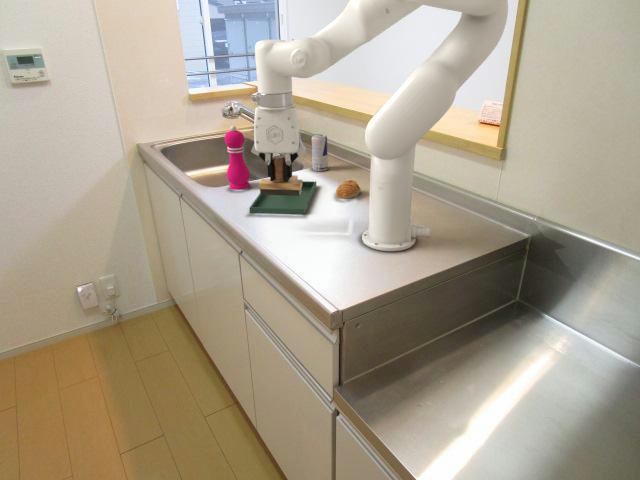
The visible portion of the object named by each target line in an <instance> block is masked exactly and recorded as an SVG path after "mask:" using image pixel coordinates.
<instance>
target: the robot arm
mask: <svg viewBox="0 0 640 480" xmlns="http://www.w3.org/2000/svg"><path fill="white" fill-rule="evenodd" d="M422 6H426V7H432V8H437V9H442V10H446V11H452V12H453V11H454V12H457V13H461V15H460V18H459V20H458V22H457V24H456V26H455V27H454V28H453V29H452V30H451V31H450V33H449V34H448V35H447V36H446V37H445V39H444V40H443V41H442V42H441V43H440V44H439V46H438V47H437V48H436V49H435V50H434V51H433V52H432V53H431V54H430V56H429V57H428V58H427V59H426V60H424V62H422V63H421V64H420V65H419V66H417V67H416V69H414V70H413V71H412V72H411V73H410V75H409V77H408V78H406V79H405V81H404V82H403V84H401V85H400V87H398V89H397V90H396V91H395V92H394V93H393V94H392V96H390V98H389V99H388V100H387V101H386V102H385V103H384V105H382V106H381V107H380V108H379V109H377V110H376V112H375V113H374V114H373V116H372V117H371V118H370V120H369V122H368V123H367V125H366V127H365V132H364V142H365V145H366V148H367V150H368V151H369V152H370V166H369V167H370V169H369V171H370V172H369V199H368V200H369V202H368V203H369V205H368V206H369V207H368V228H366V229H365V230H364V231H363V232H362V235H361V241H362V242H363V244H365V246H367V247H369V248H371V249H373V250H376V251H381V252H400V251H404V250H407V249H410V248H412V246H414V245H415V244H416V240H417V239H416V238H417V237H422V238H423V237H425V238H426V237H427V238H429V237H431V236H430V235H431V229H430V227H429V228H428V227H427V228H425V226H424V224H414V223H412V219H411V212H412V197H413V182H414V170H415V157H416V146H417V144H418V142H419V141H420V140H421V139H422V138H423V137H424V136H425V135H426V134H427V133H428V132H429V131H430V130H431V129H433V127H434V126H435V125H436V124H437V123H439V121H440V120H441V119H442V118H443V117H444V116H445V115H446V114H447V112H448V111H449V110H450V108H451V107H452V106H453V104H454V102H455V99H456V94H457V92H458V91H459V89H461V87H462V86H463V85H464V84H465V83H466V82H467V81H468V80H469V79H470V78H471V77H472V76H473V75H474V74H475V72H476V71H477V70H478V69H479V67H481V66H482V65H483V64H484V63H485V61H486V60H487V59H488V58H489V57H490V56H491V54H492V53H493V51H494V50H495V49H496V47H497V46H498V45H499V43H500V41H501V38H502V36H503V34H504V32H505V28H506V25H507V21H508V15H509V0H349V1H348V3H347V4H346V5H345V7H344V9H343V11H342V12H341V13H340V14H339V15H338V16H337V17H336V18H335V19H334V20H333V21H331V22H330V23H328V25H326V26H325V27H323V28H322V29H321V30H319V31H318V32H316V33H315V34H314V35H312V36H309V37H304V38H298V39H294V40H285V39H262V40H259V41H257V42H256V43H255V45H254V56H255V57H254V58H255V69H256V70H255V71H256V72H255V73H256V85H257V93H256V94H252V96H251V100H252V102H256V103H257V105H258V106H256V107H255V109H254V117H253V118H254V119H253V121H254V123H253V132H254V133H253V137H254V138H253V140H254V143H253V145H252V148H251V149H250V152H251V153H252V154H254V155H255V156H257V157H259V159H261V160H262V161H263V162H264V163H265V165H266V167H267V177H269V179H270V181H274V180H275V179H274V164H273V157H274V154H284V156H285V165H284V177H285V181H286V182H288V181H289V179H290V177H292V176H293V162H295V160H297V158H299V157H302V156H304V155H305V154H306V153H307V149H306V146H305V144H304V143H303V141H302V139H301V130H300V129H301V128H300V121H299V116H298V115H299V114H298V110H297V107H296V105H294V101H293V100H294V99H293V80H292V79H293V78H298V79H308V78H309V79H310V78H312V77H315V76H316V75H319V74H322V73H323V72H326V71H327V70H328V69H329V68H331V67H332V66H334V65H335V64H337V63H338V62H339V61H341V60H343V59H344V58H345V57H347V56H349V55H350V54H352V53H353V52H354V51H355V50H357V49H358V48H360V47H361V46H363V45H365V44H367V43H369V42H371V41H372V40H373V39H375V38H376V37H378V36H380V35H381V34H382V33H384V32H385V31H387V30H388V29H390V28H391V27H392V26H394V25H395V24H397V23H398V22H400V21H401V20H402V19H404V18H406V17H407V16H408V15H410V14H412V13H413V12H415V11H416V10H418V9H419V8H420V7H422Z"/></svg>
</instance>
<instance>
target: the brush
mask: <svg viewBox="0 0 640 480" xmlns="http://www.w3.org/2000/svg"><path fill="white" fill-rule="evenodd" d="M285 162H286V160H285V155H281V154H279V155H273V164H274V179H275V180H274V181H270V178H261V179H260V181H259V182H258V189H259V192H260V193H259V194H260V195H285V196H300V194H301V192H302V181H303V179H298V180H294V179H289V181H288V182H286V181H285V177H284V165H285Z"/></svg>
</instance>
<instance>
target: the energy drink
mask: <svg viewBox="0 0 640 480" xmlns="http://www.w3.org/2000/svg"><path fill="white" fill-rule="evenodd" d="M311 136H312V137H311V159H312V160H311V162H312V171H315V172H326V171H327V170H328V168H329V167H328V166H329V165H328V163H329V162H328V137H327V134H324V133H316V134H313V135H311Z"/></svg>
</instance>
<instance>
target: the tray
mask: <svg viewBox="0 0 640 480" xmlns="http://www.w3.org/2000/svg"><path fill="white" fill-rule="evenodd" d="M316 189H317V181H309V180H308V181H306V180H305V181H303V180H302V192H301V194H300V196H285V195H260V193H259V194H258V195H257V197H256V198H255V199H254V201H253V202H252V203H251V205H250V207H249V214H264V215H265V214H267V215H269V214H270V215H303V216H305V214H306V213H307V210H308V207H309V205H310V203H311V201H312V198H313V196H314V193H315V191H316Z"/></svg>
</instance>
